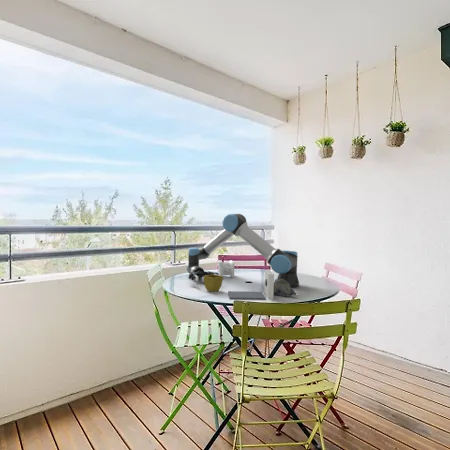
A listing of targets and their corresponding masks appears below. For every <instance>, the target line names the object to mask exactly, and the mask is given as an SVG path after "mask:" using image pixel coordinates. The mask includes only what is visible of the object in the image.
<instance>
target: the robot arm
mask: <svg viewBox="0 0 450 450" xmlns="http://www.w3.org/2000/svg"><path fill="white" fill-rule="evenodd" d="M222 227H223V230H222V231H220V232H219V233H218V234H217V235H216V236H214V237H213V238H212V239H211V240H210V241H209V242H207V243H206V244H205V245H204V246H203V247H201V248H199V247H189V248H188V253H187V254H188V260H187V261H188V263H187V264H188V265H187V266H186V271H187V273H188V274H189V275H188V279H189V280H192V281H194V280H195V281H196V282H198V281H199V280H200V279H203V276H206V275H212V274H213V275H219V273H218V272H215V271H214V272H213V271H209V270H208V271H205V270H204V268H202V267H200V260H205V259H207V258H210V256H211V254H212V253H214V252H215V251H216V250H217V249H218V248H220V247H221V246H222V245H223V244H224V243H225V242H226V243H227V242H228V241H229V240H230V239H231V237H233V236H235V237H240V238H241V239H242V240H243V241H245V242H246V243H247V244H248V245H249V246H250V247H251V248H253V249H254V250H255V251H256V252H257V253H259V254H260V255H261V256H262V257H263V258H265V259H266V262H267V264H268V265H269V266H270V268H271V269H272V270H273V271H272V272H275V273H276V274H278V276H277V277H276V279H277V280H279V279H284V280H285V281H287V282H288V283H289V284H290V287H291V288H298V287H300V282H299V277H298V252H297V251H294V250H293V251H292V250H283V249H282V250H281V249H280V248H275V247H274V246H272V245H271V244H270V243H269V242H268V241H267V240H265V239H264V238H263V237H261V236H260V235H259V234H258V233H256V232H255V231H254V230H253V229H252V228H251V227H249V225H248V222H247V218H246V216H245V215H243V214H242V213H228V214H227V215H225V216H224V217H223V219H222ZM297 286H298V287H297Z"/></svg>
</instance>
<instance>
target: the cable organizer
mask: <svg viewBox="0 0 450 450" xmlns="http://www.w3.org/2000/svg"><path fill="white" fill-rule="evenodd" d="M217 264H218V265H217V267H218V270H217V271H218V272H217V273H219V276H223V277H224V276H229V277H230V278H231V279H234V278H235V261H233V260H232V259H231V260H229V261H228V262H223V261H222V260H218V262H217Z"/></svg>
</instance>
